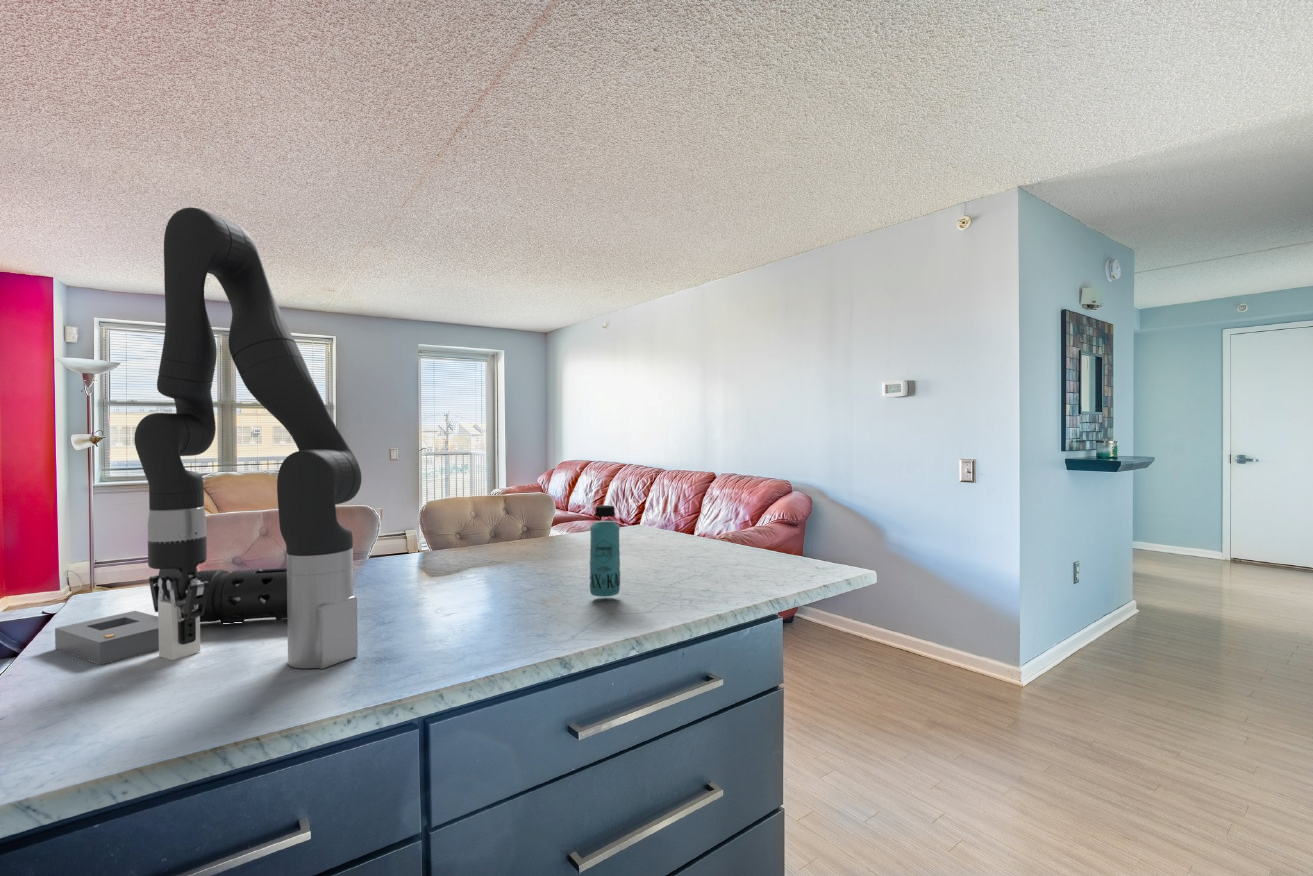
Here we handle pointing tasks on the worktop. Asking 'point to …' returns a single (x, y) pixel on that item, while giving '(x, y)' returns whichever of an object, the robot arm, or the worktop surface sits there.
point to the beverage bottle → (604, 555)
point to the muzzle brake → (245, 595)
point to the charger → (173, 632)
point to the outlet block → (110, 637)
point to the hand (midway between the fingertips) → (179, 640)
